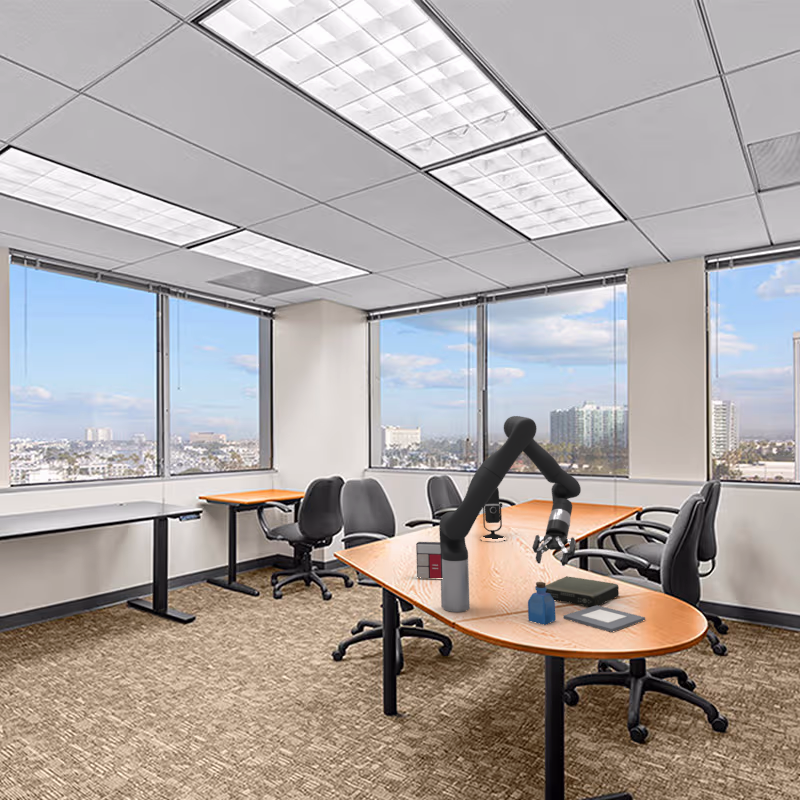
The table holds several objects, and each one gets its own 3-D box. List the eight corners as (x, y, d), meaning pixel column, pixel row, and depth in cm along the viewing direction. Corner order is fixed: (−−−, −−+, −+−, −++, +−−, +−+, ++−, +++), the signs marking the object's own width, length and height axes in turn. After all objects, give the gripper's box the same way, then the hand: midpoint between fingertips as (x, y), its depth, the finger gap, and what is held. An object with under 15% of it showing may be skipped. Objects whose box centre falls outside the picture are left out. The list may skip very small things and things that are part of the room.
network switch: (621, 595, 222) (620, 581, 222) (603, 611, 202) (603, 596, 203) (560, 587, 235) (559, 574, 235) (538, 601, 215) (537, 587, 216)
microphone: (480, 542, 334) (479, 488, 336) (478, 537, 350) (476, 486, 352) (508, 542, 334) (507, 488, 335) (504, 537, 349) (503, 485, 351)
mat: (563, 618, 194) (563, 614, 194) (596, 608, 205) (596, 604, 205) (611, 632, 180) (611, 628, 180) (645, 620, 190) (645, 616, 190)
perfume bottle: (528, 621, 192) (527, 583, 193) (538, 616, 197) (537, 579, 197) (545, 625, 188) (543, 586, 189) (555, 620, 192) (554, 582, 193)
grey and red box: (416, 579, 251) (415, 543, 252) (418, 576, 256) (417, 541, 257) (442, 580, 249) (441, 544, 250) (443, 577, 253) (443, 542, 254)
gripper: (536, 517, 215) (527, 555, 205) (576, 519, 208) (569, 558, 197) (541, 530, 220) (532, 567, 209) (580, 532, 212) (573, 571, 202)
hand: (550, 563), depth 203 cm, fingers open, 8 cm apart
